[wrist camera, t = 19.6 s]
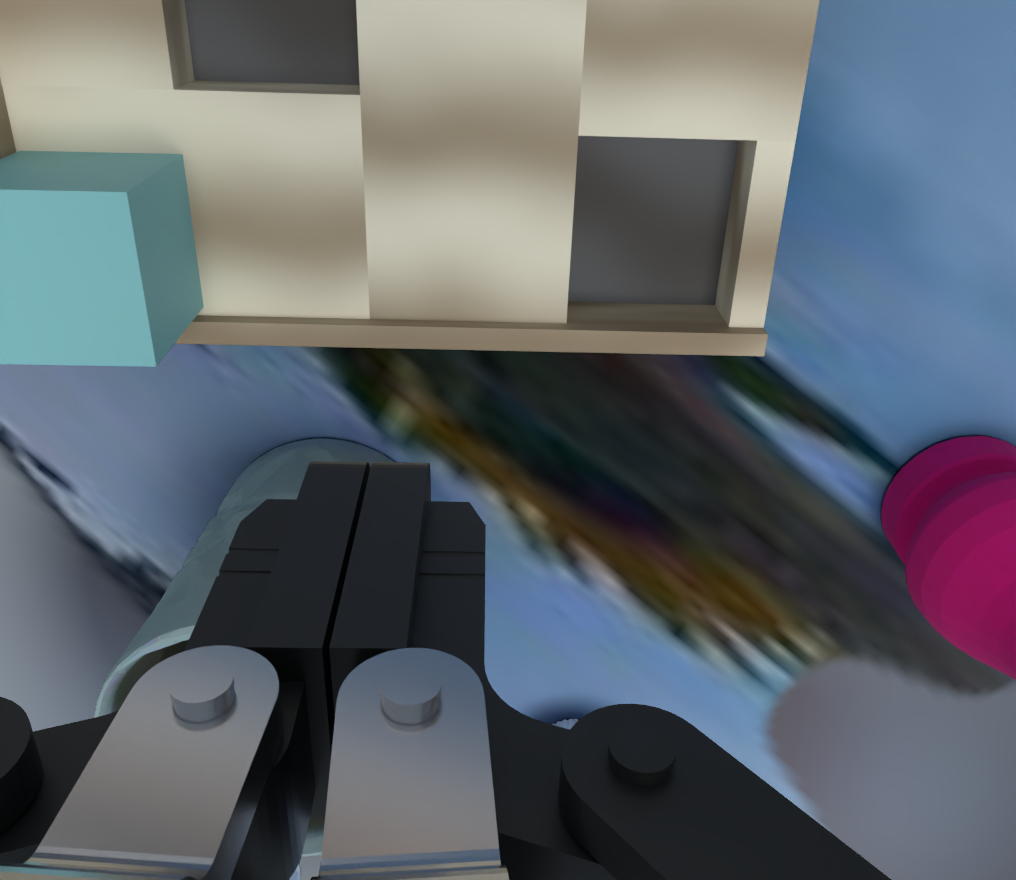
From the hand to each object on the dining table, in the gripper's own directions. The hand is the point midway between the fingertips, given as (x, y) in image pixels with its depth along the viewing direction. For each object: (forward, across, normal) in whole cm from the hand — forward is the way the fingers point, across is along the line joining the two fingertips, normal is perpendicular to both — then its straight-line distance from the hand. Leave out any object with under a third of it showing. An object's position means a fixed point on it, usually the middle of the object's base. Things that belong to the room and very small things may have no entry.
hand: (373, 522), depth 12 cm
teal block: (+20, +11, +2) cm, 22 cm away
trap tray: (+22, +2, -2) cm, 22 cm away
